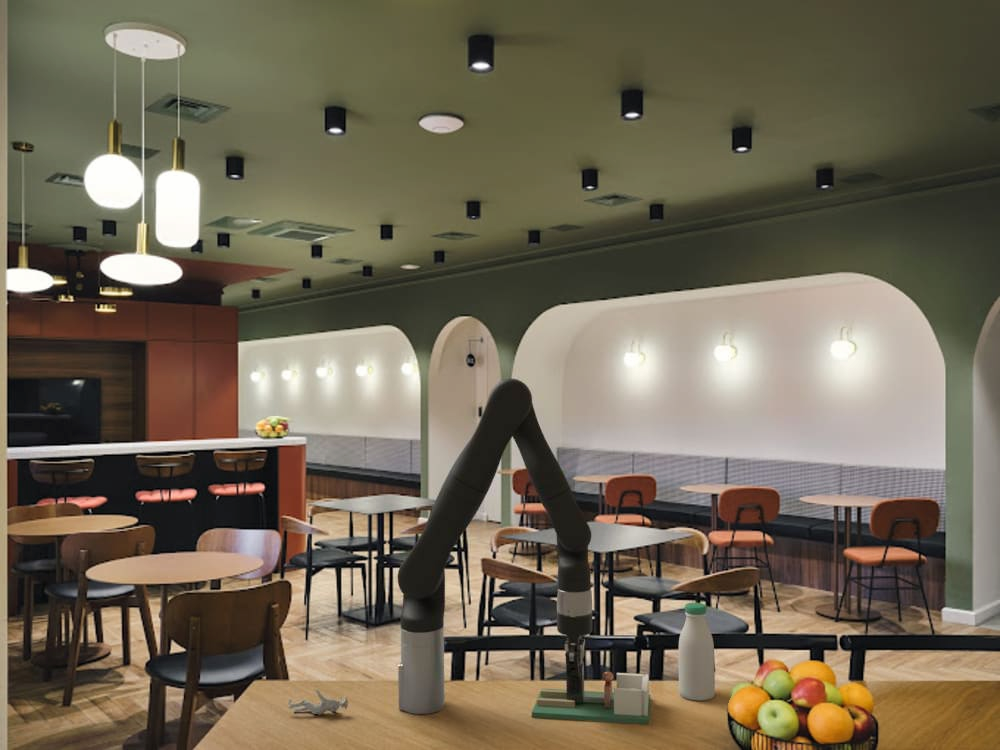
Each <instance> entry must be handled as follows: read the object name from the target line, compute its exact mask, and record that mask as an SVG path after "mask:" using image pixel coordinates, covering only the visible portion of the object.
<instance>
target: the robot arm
mask: <svg viewBox="0 0 1000 750" xmlns="http://www.w3.org/2000/svg"><path fill="white" fill-rule="evenodd" d="M473 432H474V433H473V435H472V436H471V438H470V439H469V441H468V442H467V443H466V445H465V446H464V448H463V449H462V451H461V452H460V453H459V455H458V457H457V458H456V459H455V461H454V463H453V465H452V467H451V469H450V470H449V472H448V473H447V476H446V477H445V480H444V482H443V483H442V486H441V488H440V490H439V492H438V494H437V497H436V499H435V500H434V504H433V506H432V508H431V510H430V512H429V513H430V514H429V516H428V518H427V522H426V523H425V526H424V529H423V530H422V532H421V534H420V536H419V538H418V539H417V541H416V542H415V544H414V546H413V548H411V550H410V552H409V554H408V555H407V556H406V557H405V559H404V560H403V562H402V563H401V564H400V566H399V568H398V572H397V584H398V587H399V590H400V592H401V593H402V594H403V595H402V608H401V612H400V613H401V614H400V655H401V656H400V657H401V658H400V659H401V662H400V663H399V664H398V665H397V670H398V672H397V673H398V677H397V678H398V682H397V683H398V684H397V685H398V710H399V711H404V712H406V713H409V714H413V715H415V714H416V715H426V714H433V713H436V712H439V711H441V710H443V708H445V699H446V697H445V696H446V695H445V639H444V638H445V636H444V635H445V633H444V631H445V630H444V629H445V628H444V626H445V625H444V617H445V611H446V609H445V607H446V570H445V567H446V565H447V562H448V560H449V558H450V555H451V553H452V551H453V549H454V547H455V546H456V543H458V541H459V539H460V538H461V537H462V535H463V533H464V532H465V531H466V529H468V527H469V525H470V524H471V522H472V521H473V519H474V517H475V516H476V514H477V513H478V511H479V509H480V507H481V505H482V504H483V501H484V500H485V498H486V495H487V493H488V492H489V490H490V488H491V486H492V483H493V481H494V479H495V476H496V474H497V471H498V468H499V466H500V463H501V461H502V458H503V457H502V456H504V455H503V454H504V452H505V450H506V448H507V446H508V445H509V442H510V440H511V439H513V440H514V442H515V444H516V446H517V448H518V450H519V453H520V455H521V458H522V461H523V463H524V466H525V468H526V472H527V474H528V475H527V476H528V477H529V479H530V482H531V484H532V486H533V488H534V490H535V492H536V495H537V497H538V499H539V500H540V503H541V505H542V507H543V508H544V510H545V512H546V513H547V515H548V517H549V520H550V522H551V525H552V527H553V529H554V532H555V534H556V547H557V558H558V560H557V561H558V566H557V567H558V568H557V596H556V630H557V632H558V633H559V634H561V635H564V636H567V638H566V639H565V642H564V651H565V653H564V656H565V665H566V666H565V669H566V668H567V672H565V673H566V674H567V676H569V693H570V694H579V692H580V665H581V664H582V661H584V658H585V646H586V645H585V644H586V640H585V636H588V635H589V634H591V633H592V631H593V598H592V590H591V589H592V586H591V582H592V581H591V575H592V574H591V566H590V563H589V546H590V543H591V541H592V531H591V528H590V525H589V523H588V521H587V520H586V518H585V516H584V514H583V512H582V511H581V509H580V507H579V505H578V503H577V501H576V500H575V496H574V494H573V490H572V488H571V487H570V484H569V481H568V479H567V477H566V476H565V474H564V471H563V470H562V468H561V465H560V464H559V461H558V460H557V458H556V456H555V454H554V452H553V451H552V449H551V447H550V445H549V443H548V441H547V440H546V439H547V438H545V435H544V434H543V431H542V429H541V426H540V424H539V420H538V417H537V413H536V411H535V407H534V404H533V395H532V392H531V389H530V388H529V387H528V385H527V384H526V383H524V381H521V380H519V379H516V378H505V379H502V380H500V381H498V382H497V383H495V385H494V386H493V387H492V388H491V390H490V392H489V395H488V397H487V401H486V404H485V407H484V410H483V412H482V414H481V417H480V419H479V422H478V424H477V426H476V428H475V431H473ZM584 662H585V661H584ZM571 668H575V669H576V670H571Z"/></svg>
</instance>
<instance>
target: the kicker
mask: <svg viewBox="0 0 1000 750" xmlns="http://www.w3.org/2000/svg"><path fill="white" fill-rule="evenodd" d="M584 668H585V661H582V664H581V665H580V692H579V694H570V693H569V676H567V674H566V675H565V677H566V680H565V681H566V682H565V683H566V690H567V700H575V704H583V702H587V703H604V704H605V708H610V707H611V702H612V692H613V680H614V674H613V673H612V672H611V671H604V673H603V674H602V679H603V682H604V687H603V689H604V691H603V692H604V695H594V694H584V691H585V669H584ZM565 669H566V672H567V668H566V667H565ZM571 670H576V669H575V668H571ZM566 672H565V673H566Z"/></svg>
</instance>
